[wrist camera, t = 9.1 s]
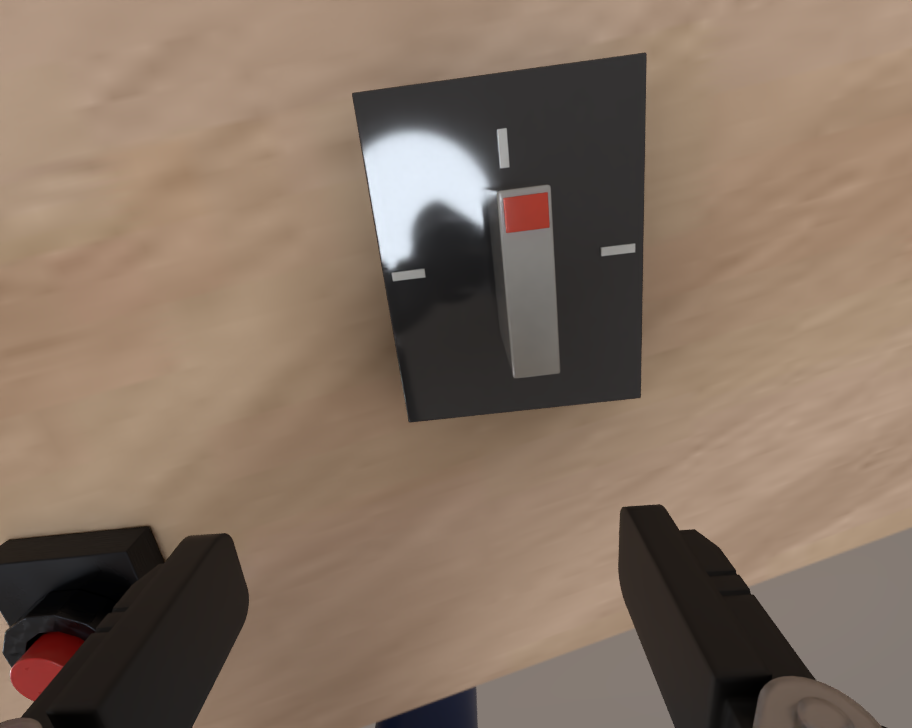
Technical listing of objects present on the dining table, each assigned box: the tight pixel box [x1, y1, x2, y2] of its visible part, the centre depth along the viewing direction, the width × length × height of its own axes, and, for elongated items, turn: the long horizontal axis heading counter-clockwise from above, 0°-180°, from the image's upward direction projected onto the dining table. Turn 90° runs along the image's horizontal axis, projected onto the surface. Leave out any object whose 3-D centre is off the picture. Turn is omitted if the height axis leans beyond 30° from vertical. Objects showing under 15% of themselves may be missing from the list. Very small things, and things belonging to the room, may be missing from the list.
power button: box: [10, 632, 85, 701], centre depth 27 cm, size 4×4×2 cm
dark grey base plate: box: [352, 53, 646, 422], centre depth 22 cm, size 14×11×3 cm
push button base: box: [0, 527, 164, 668], centre depth 29 cm, size 11×9×4 cm
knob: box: [486, 184, 560, 378], centre depth 17 cm, size 6×2×6 cm, turn 7°
